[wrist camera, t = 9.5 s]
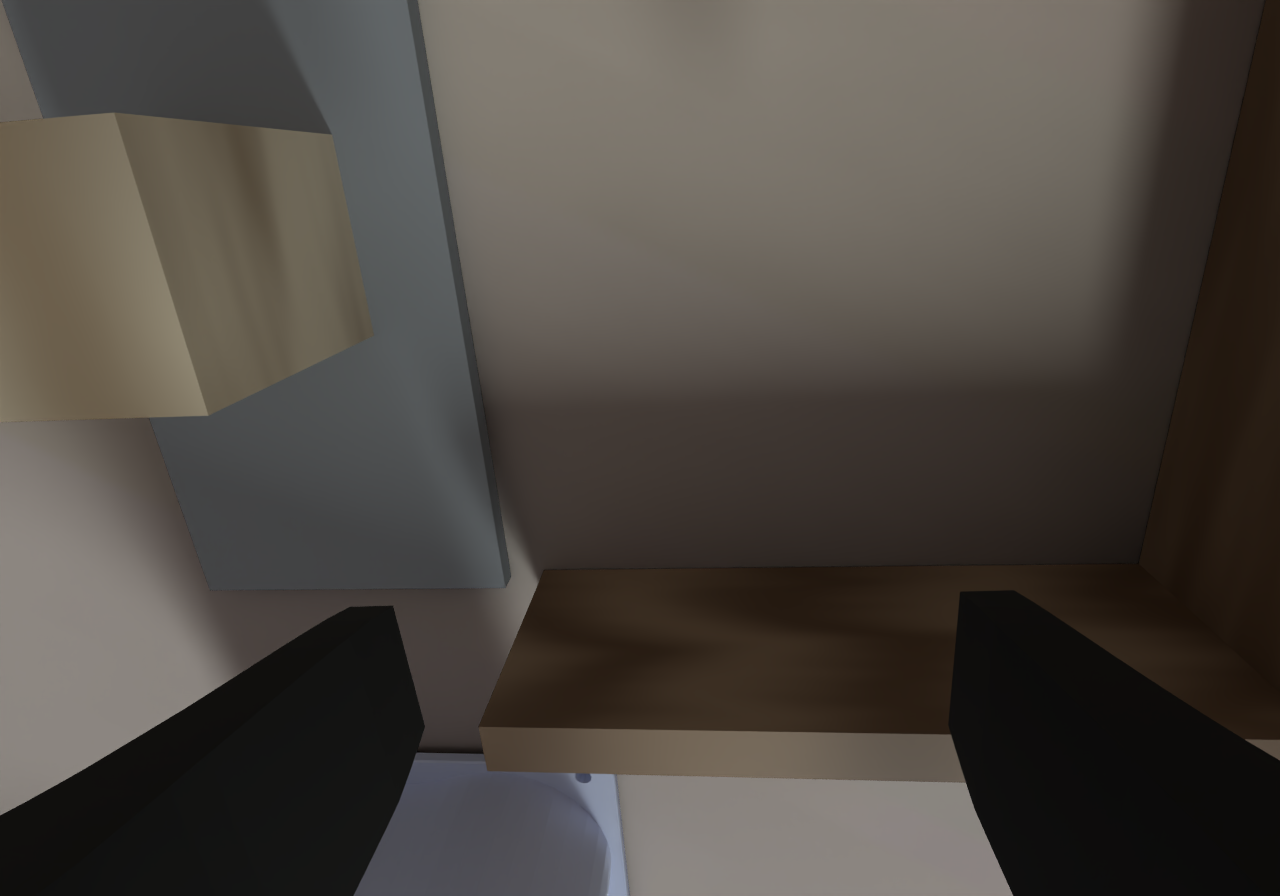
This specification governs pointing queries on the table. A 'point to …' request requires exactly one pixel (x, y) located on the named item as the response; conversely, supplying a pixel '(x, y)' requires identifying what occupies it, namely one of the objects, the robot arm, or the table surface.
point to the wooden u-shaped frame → (943, 584)
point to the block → (167, 265)
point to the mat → (392, 277)
